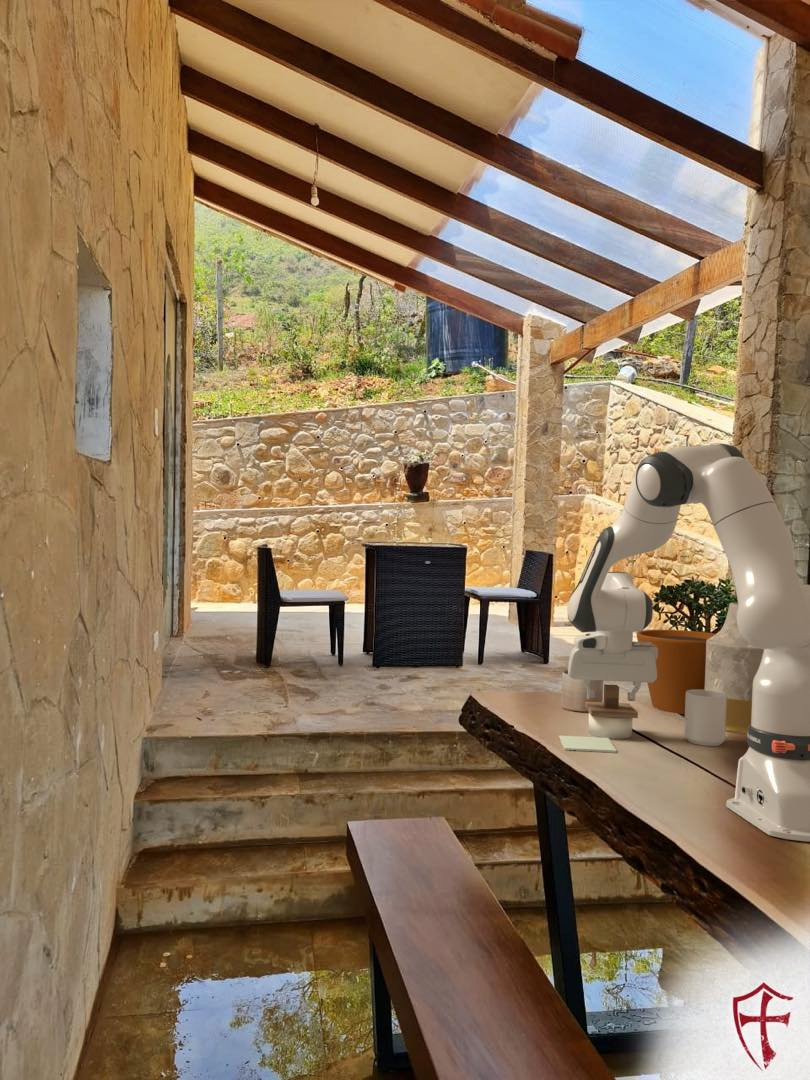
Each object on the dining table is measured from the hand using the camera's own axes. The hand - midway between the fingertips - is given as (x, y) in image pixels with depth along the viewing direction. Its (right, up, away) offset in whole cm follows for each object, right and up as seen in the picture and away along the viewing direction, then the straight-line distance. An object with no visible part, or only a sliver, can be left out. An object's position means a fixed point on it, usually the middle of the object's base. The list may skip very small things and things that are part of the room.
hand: (610, 699), depth 199 cm
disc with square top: (0, -8, 0) cm, 8 cm away
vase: (+36, -9, +13) cm, 39 cm away
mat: (-8, -8, -11) cm, 16 cm away
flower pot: (+26, -9, +31) cm, 42 cm away
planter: (-1, -8, +27) cm, 28 cm away
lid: (0, -3, 0) cm, 3 cm away
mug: (+21, -9, -3) cm, 23 cm away
